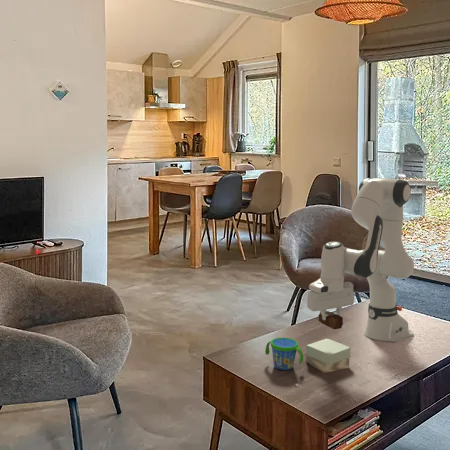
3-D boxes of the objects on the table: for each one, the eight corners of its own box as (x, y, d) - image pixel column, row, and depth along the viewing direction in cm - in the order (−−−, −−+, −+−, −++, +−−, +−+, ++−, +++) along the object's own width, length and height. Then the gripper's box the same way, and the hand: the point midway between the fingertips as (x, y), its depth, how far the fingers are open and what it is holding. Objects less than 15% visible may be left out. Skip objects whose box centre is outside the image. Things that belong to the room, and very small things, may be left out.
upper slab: (326, 347, 225) (327, 338, 224) (350, 357, 216) (350, 347, 215) (306, 354, 218) (306, 345, 217) (329, 364, 209) (330, 354, 208)
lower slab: (330, 357, 226) (330, 348, 225) (348, 368, 215) (349, 359, 214) (305, 362, 220) (306, 352, 220) (323, 374, 210) (324, 364, 209)
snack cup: (308, 368, 214) (308, 343, 212) (292, 377, 206) (293, 351, 204) (275, 357, 224) (275, 333, 222) (259, 365, 216) (260, 340, 214)
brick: (342, 328, 211) (343, 316, 210) (334, 330, 209) (335, 318, 208) (326, 320, 220) (326, 309, 220) (317, 321, 218) (318, 310, 218)
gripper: (348, 279, 219) (346, 312, 222) (305, 285, 210) (304, 320, 213) (358, 283, 214) (356, 317, 216) (315, 289, 205) (314, 325, 207)
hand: (330, 318), depth 214 cm, fingers closed on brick, 4 cm apart
